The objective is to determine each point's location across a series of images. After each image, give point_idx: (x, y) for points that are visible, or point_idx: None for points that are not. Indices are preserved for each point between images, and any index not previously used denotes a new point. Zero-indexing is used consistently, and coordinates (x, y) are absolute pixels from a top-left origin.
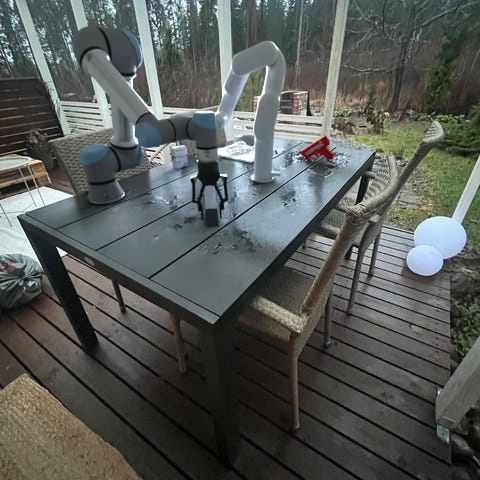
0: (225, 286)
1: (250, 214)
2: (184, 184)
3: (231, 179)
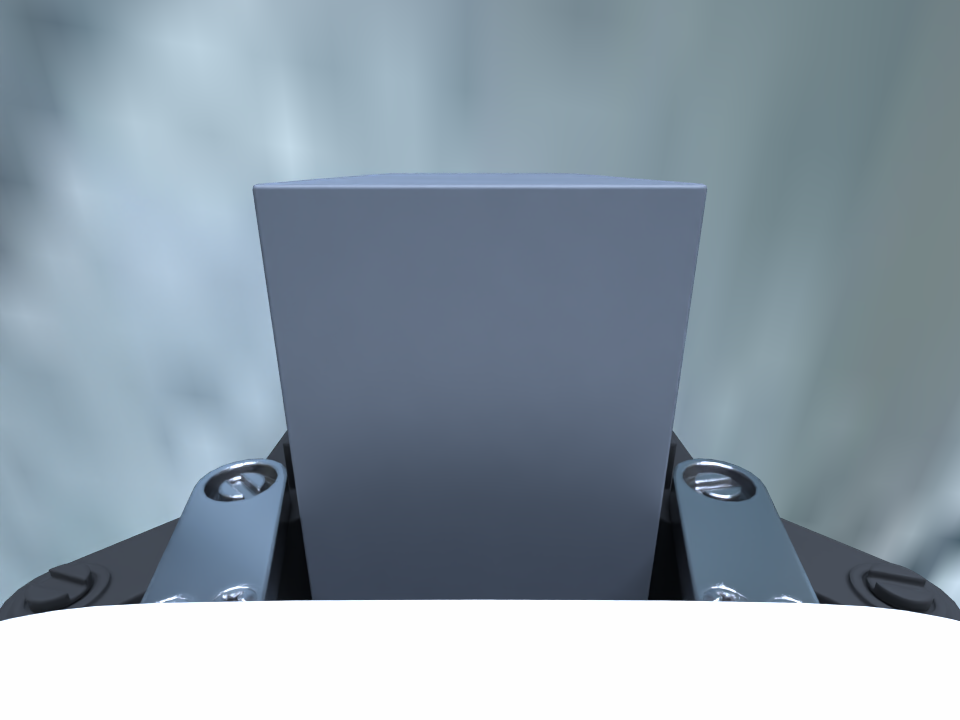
0: None
1: None
2: None
3: None
